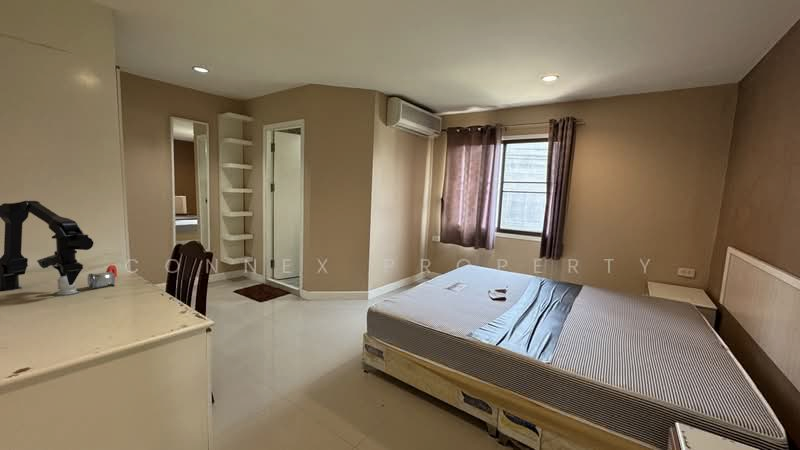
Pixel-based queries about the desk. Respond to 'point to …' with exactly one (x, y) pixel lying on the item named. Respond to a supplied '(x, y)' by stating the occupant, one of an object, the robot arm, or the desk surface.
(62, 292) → the white knob
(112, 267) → the bracket
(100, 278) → the grey rounded block
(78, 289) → the flange
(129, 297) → the desk surface
